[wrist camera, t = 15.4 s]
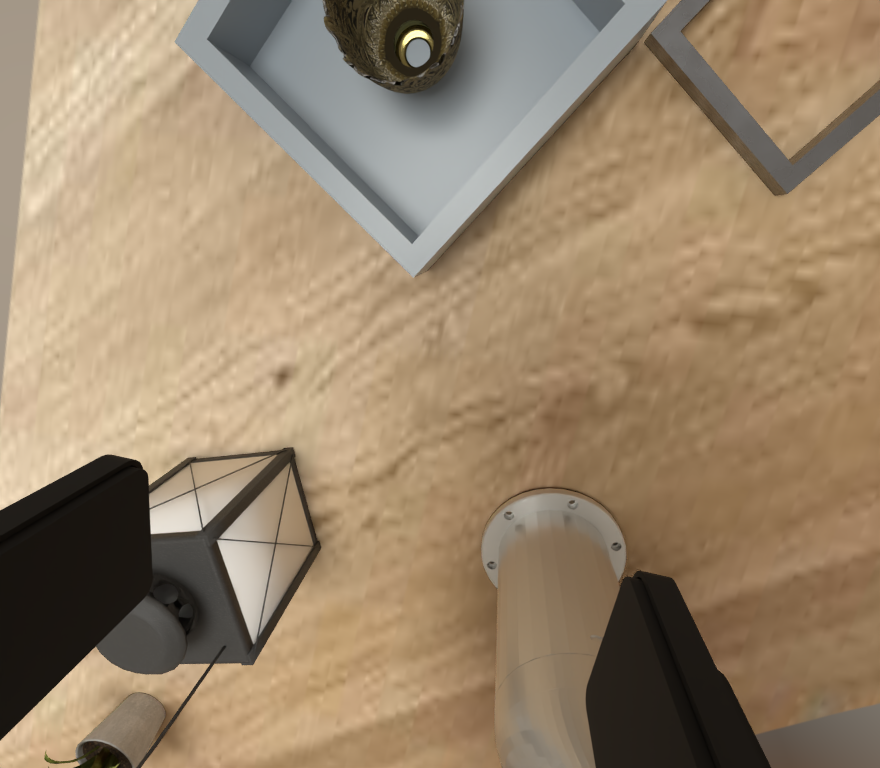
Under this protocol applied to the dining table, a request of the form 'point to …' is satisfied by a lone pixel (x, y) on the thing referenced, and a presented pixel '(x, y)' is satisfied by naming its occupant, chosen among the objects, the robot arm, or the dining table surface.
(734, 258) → the dining table surface
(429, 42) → the dark bronze rounded piece
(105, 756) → the house plant
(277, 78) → the bin
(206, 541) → the lantern
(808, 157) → the square metal frame
